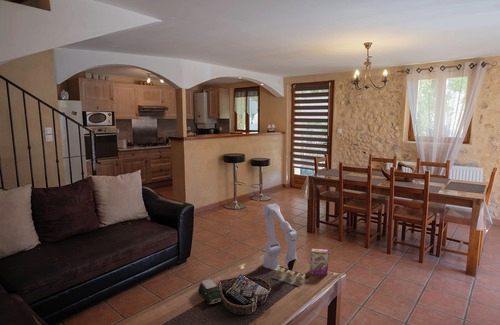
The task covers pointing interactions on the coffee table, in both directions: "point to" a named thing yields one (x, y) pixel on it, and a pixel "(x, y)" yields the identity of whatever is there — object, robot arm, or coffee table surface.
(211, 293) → the miniature car
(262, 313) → the coffee table surface
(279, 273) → the block one
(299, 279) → the block two
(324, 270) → the candy bar box
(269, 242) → the robot arm
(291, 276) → the plain block
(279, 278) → the mat
